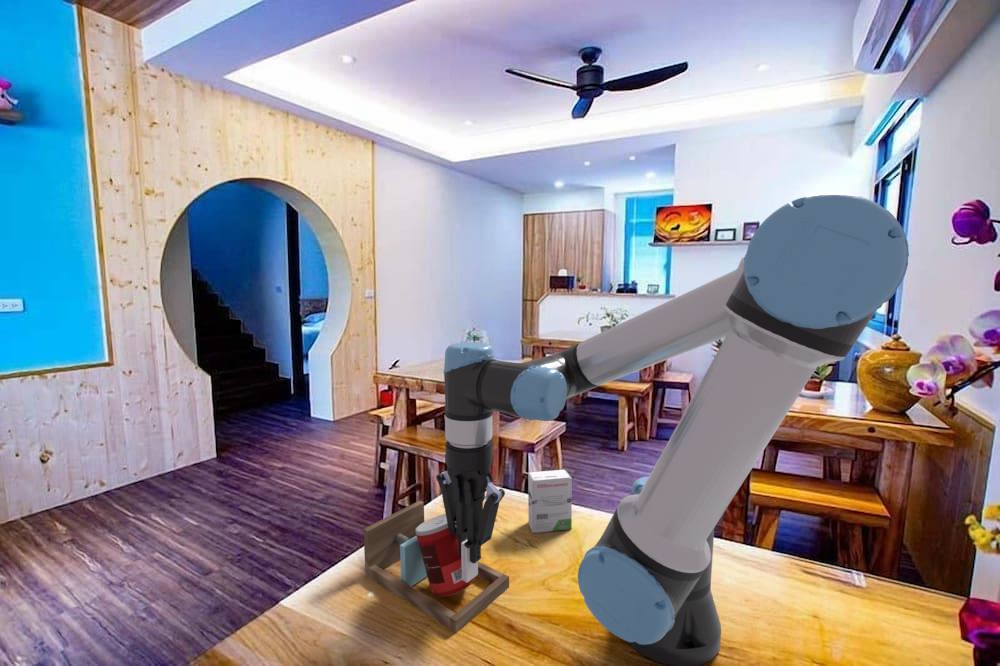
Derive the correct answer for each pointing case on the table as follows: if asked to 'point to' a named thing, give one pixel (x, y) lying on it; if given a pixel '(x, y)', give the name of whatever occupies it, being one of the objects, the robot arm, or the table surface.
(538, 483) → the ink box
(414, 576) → the panel
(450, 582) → the canned food
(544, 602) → the table surface
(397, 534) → the brown open rectangular frame
